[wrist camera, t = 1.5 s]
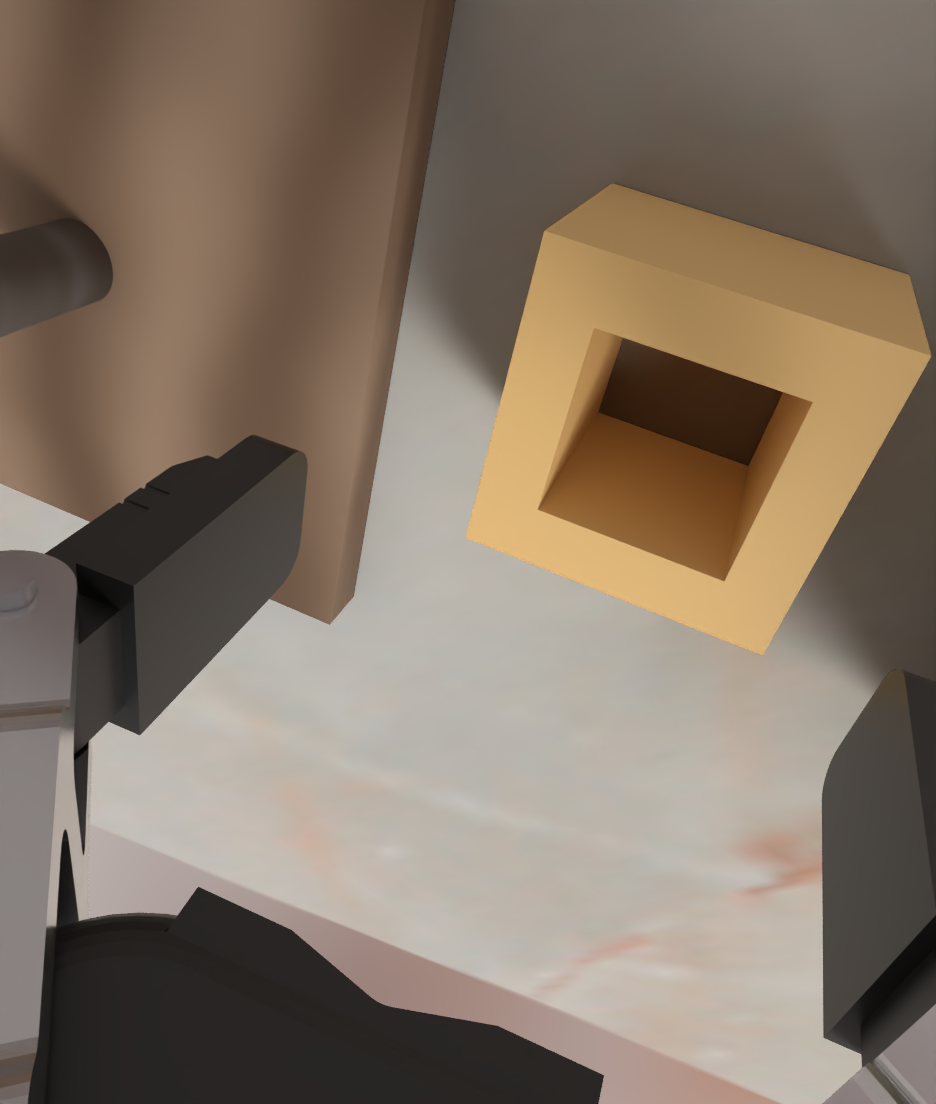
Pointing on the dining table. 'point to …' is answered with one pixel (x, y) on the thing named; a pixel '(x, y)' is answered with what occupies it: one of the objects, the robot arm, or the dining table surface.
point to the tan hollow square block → (672, 466)
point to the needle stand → (210, 245)
